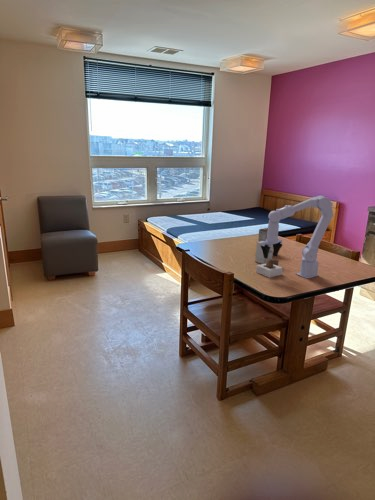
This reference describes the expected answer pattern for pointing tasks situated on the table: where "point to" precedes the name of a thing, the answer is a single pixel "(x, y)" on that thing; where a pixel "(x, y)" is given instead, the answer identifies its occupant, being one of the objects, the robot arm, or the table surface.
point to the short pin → (276, 262)
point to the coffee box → (262, 234)
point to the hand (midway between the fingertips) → (270, 256)
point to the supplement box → (259, 253)
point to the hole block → (269, 270)
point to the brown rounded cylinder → (269, 263)
